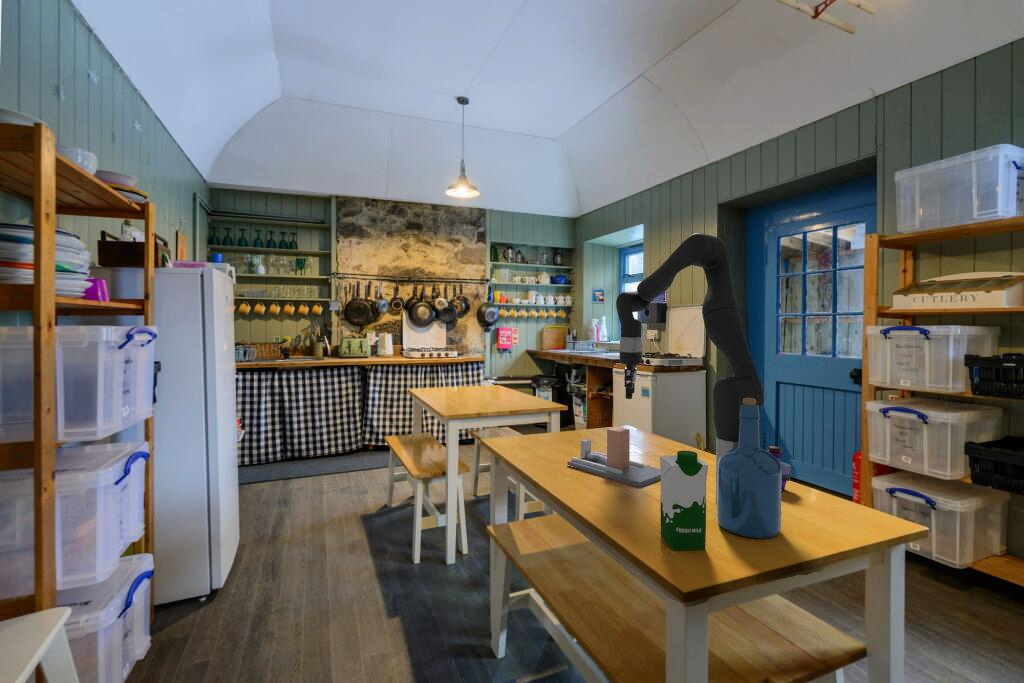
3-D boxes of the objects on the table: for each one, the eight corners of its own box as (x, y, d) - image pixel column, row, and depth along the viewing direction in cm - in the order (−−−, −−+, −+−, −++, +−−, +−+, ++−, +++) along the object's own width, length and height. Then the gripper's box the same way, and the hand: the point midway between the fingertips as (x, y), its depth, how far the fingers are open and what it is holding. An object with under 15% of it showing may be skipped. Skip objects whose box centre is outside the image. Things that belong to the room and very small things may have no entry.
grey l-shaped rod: (587, 455, 166) (587, 439, 165) (614, 462, 157) (614, 445, 157) (579, 457, 163) (579, 440, 163) (606, 464, 154) (606, 447, 154)
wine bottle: (704, 523, 113) (705, 396, 112) (741, 512, 119) (743, 392, 118) (756, 546, 101) (758, 405, 100) (795, 533, 107) (797, 400, 106)
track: (598, 457, 170) (598, 450, 170) (669, 476, 148) (669, 468, 148) (567, 466, 159) (567, 458, 159) (639, 487, 138) (639, 478, 138)
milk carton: (669, 552, 98) (670, 456, 98) (655, 533, 107) (655, 445, 107) (711, 551, 99) (712, 455, 98) (693, 532, 108) (694, 444, 107)
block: (616, 463, 157) (616, 427, 156) (629, 466, 153) (629, 429, 153) (607, 466, 154) (607, 429, 153) (619, 469, 150) (619, 431, 149)
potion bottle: (798, 493, 133) (798, 450, 132) (766, 493, 133) (767, 450, 132) (781, 483, 141) (781, 443, 141) (751, 483, 141) (752, 443, 141)
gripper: (640, 353, 157) (639, 401, 159) (643, 347, 170) (642, 392, 172) (617, 352, 159) (616, 400, 161) (621, 346, 172) (621, 390, 174)
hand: (630, 395), depth 166 cm, fingers open, 8 cm apart
